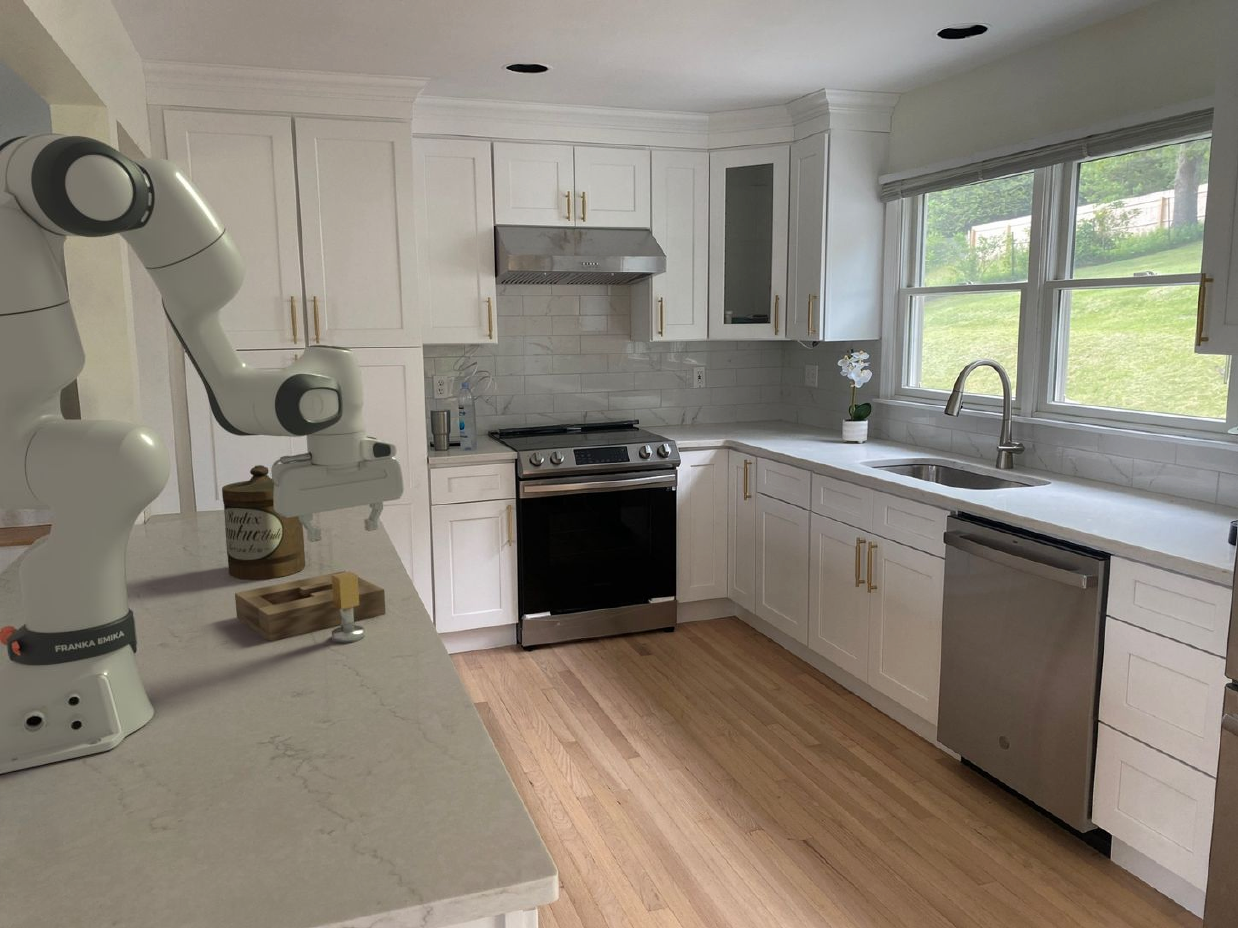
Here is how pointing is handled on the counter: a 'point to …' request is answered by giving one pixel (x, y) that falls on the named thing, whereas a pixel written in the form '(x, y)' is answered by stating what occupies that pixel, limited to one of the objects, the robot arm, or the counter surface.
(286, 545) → the wooden container
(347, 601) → the keyhole peg
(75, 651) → the robot arm
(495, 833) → the counter surface
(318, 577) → the keyhole plate
